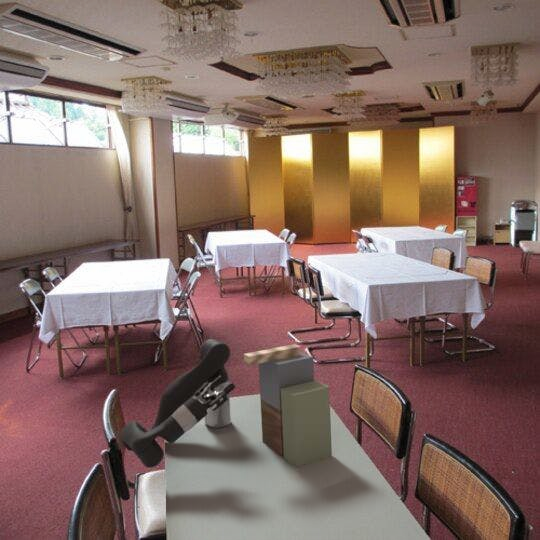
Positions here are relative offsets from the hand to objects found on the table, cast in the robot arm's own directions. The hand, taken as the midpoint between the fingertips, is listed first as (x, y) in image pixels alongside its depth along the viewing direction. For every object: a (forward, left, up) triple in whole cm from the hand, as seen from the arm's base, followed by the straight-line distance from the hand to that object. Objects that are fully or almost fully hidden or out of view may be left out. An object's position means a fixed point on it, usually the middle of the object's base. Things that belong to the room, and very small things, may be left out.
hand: (227, 381), depth 188 cm
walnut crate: (+13, +18, -28) cm, 35 cm away
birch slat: (+10, +14, +4) cm, 18 cm away
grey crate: (+13, +18, -12) cm, 25 cm away
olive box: (+23, +11, -28) cm, 37 cm away
